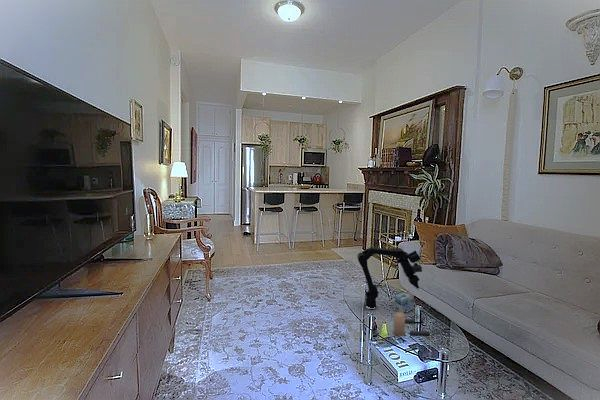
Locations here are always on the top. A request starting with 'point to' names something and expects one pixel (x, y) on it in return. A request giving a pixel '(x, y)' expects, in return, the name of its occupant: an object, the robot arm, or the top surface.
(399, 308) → the light bulb box
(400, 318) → the terracotta jar
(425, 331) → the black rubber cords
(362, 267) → the robot arm
